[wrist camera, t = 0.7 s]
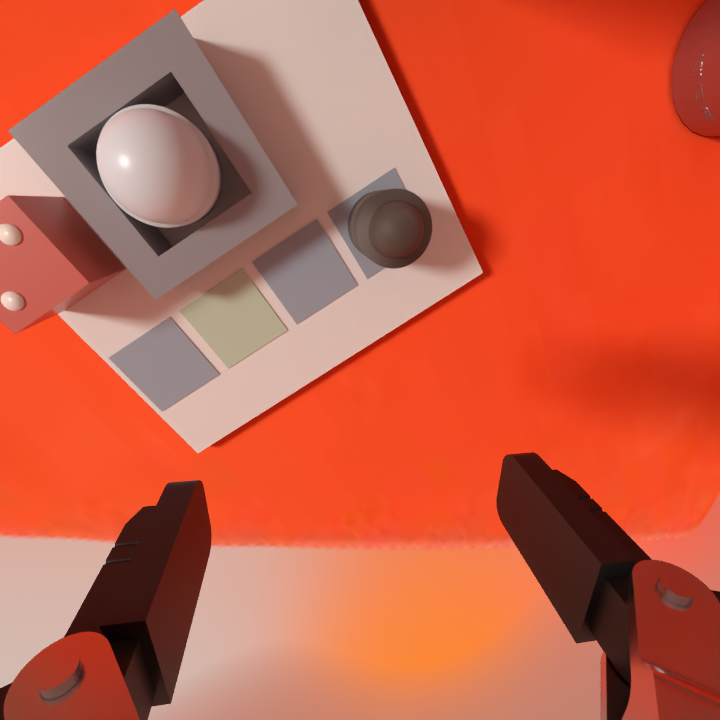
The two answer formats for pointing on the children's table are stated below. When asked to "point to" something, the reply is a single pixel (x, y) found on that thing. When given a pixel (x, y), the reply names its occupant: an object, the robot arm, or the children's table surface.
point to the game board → (276, 225)
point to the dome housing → (161, 87)
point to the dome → (159, 166)
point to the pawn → (390, 227)
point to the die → (47, 259)
